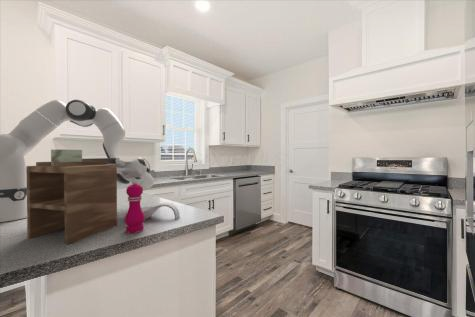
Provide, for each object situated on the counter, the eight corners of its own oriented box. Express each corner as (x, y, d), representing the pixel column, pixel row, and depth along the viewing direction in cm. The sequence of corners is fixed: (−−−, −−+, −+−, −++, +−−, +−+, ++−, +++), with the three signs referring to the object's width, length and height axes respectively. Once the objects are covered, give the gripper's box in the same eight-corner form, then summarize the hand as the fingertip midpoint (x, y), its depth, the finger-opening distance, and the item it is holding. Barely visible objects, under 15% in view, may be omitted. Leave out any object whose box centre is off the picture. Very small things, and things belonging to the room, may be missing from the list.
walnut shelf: (27, 237, 78) (26, 161, 77) (81, 221, 97) (80, 160, 97) (68, 244, 72) (67, 162, 72) (117, 225, 91) (116, 161, 91)
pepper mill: (125, 234, 81) (125, 182, 81) (124, 229, 88) (123, 180, 87) (146, 231, 85) (145, 180, 85) (143, 226, 91) (143, 178, 91)
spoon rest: (123, 221, 98) (123, 205, 98) (135, 214, 110) (135, 200, 110) (174, 222, 98) (174, 206, 98) (181, 214, 110) (181, 200, 109)
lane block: (51, 166, 79) (50, 149, 79) (112, 163, 104) (112, 150, 104) (63, 166, 77) (62, 149, 77) (122, 163, 102) (122, 150, 102)
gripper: (117, 166, 117) (97, 153, 105) (149, 167, 111) (132, 153, 99) (113, 177, 114) (91, 165, 102) (145, 178, 108) (126, 166, 96)
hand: (112, 159), depth 100 cm, fingers closed on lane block, 2 cm apart
